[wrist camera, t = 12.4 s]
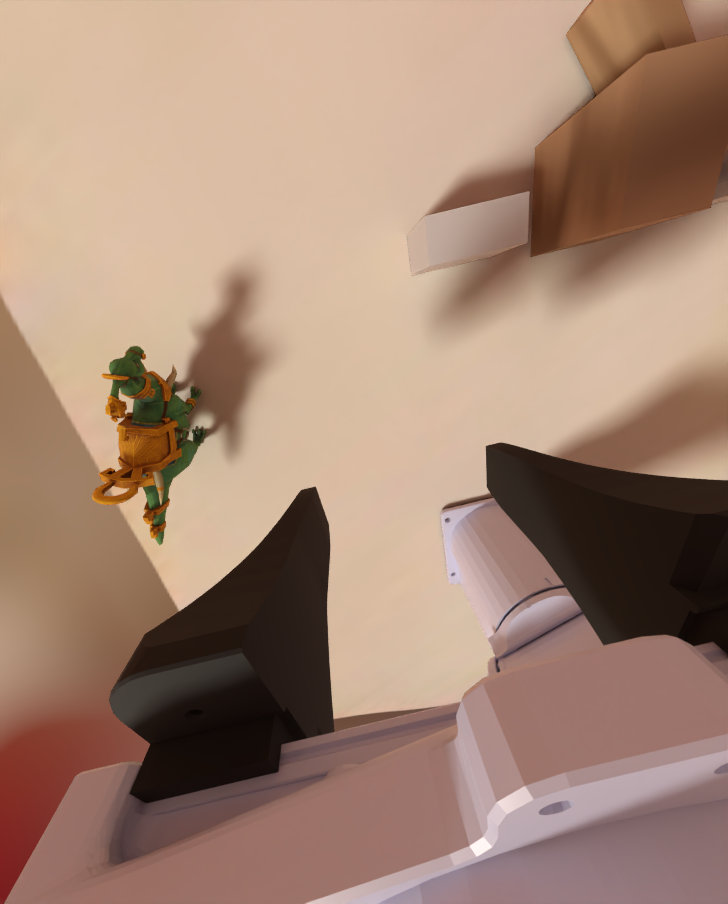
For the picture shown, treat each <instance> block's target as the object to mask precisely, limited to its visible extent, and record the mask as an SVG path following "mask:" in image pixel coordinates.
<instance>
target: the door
mask: <svg viewBox="0 0 728 904" xmlns="http://www.w3.org/2000/svg"><path fill="white" fill-rule="evenodd" d="M566 36H567V38H568V40H569V42H570V44H571V46H572V48H573V50H574V52H575V54H576V56H577V58H578V60H579V62H580V64H581V66H582V68H583V70H584V72H585V74H586V76H587V78H588V80H589V82H590V84H591V86H592V88H593V90H594V92H595V94H596V96H597V95H599V94H600V93H601V92H602V91H603V90H604V89H606V88H607V87H608V86H609V85H610V84H612V83H613V82H614V81H615V80H616V79H618V78H619V77H620V76H621V75H622V74H623V73H625V72H626V71H627V70H628V69H629V68H631V67H632V66H633V65H634V64H635V63H637V62H638V61H639V60H640V59H641V58H642V57H644V56H645V55H646V54H649V53H654V52H658V51H662V50H666V49H670V48H674V47H679V46H683V45H687V44H691V43H695V42H696V40H695V38H694V35H693V32H692V29H691V26H690V23H689V21H688V18H687V15H686V12H685V9H684V6H683V4H682V1H681V0H592V1H591V2H590V3H589V4H588V6H587V7H586V8H585V9H584V11H583V12H582V13H581V15H580V16H579V17H578V19H577V20H576V22H575V23H574V24H573V26H572V27H571V28H570V30H569V31H568V32H567V34H566ZM727 150H728V144H727V148H726V151H727Z"/></svg>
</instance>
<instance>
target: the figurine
mask: <svg viewBox="0 0 728 904" xmlns="http://www.w3.org/2000/svg"><path fill="white" fill-rule="evenodd" d="M125 354H126V355H125V356H124V358H120V359H115V360H113V361H112V362H111V363H110V365H109V370H110V372H111V374H102V376H103V377H104V378H106V379H113V385H112V390H111V394H110V396H109V397H108V399H109V400H108V404H107V405H106V414H108V415H110V416H112V418H111V419H112V420H113V421H114V422H117V421H118V419H117V418H124V417H125V418H124V420H123V421H122V422H120V423H119V424H118V427H117V432H119V450H120V456H119V458H118V461H119V464H120V466H121V467H122V469H120V470H118V471H117V472H115V470H114V469H112V468H109V469H107V470H105V471H103V472H101V473H99V475H100V478H101V480H102V481H104V482H106V484H104V485H102V486H100V487H98V488H96V489H95V491H94V493H93V497H92V498H93V500H94V501H96V502H97V503H101V504H105V505H113V504H119V503H122V502H125V501H127V500H128V501H129V500H130V498H132V497H133V496H134V495H135V494H137V493H138V487H143V489H144V491H145V493H146V497H147V503H146V505H145V508H144V511H145V514H144V516H143V519H144V521H145V522H146V524H151V525H150V535H151V538H155V539H156V541H157V542H158V544H159V545H161V544H162V542H163V538H164V529H165V527H166V521H165V514H166V509H167V507H168V506H169V502H170V499H169V498H168V493H169V487H170V485H171V482H172V480H173V478H174V477H176V476H177V475H178V474H179V473H181V472H182V471H183V470H184V469H185V468H187V467H188V466H189V465H190V463H191V461H192V459H193V457H194V455H195V453H196V452H197V449H198V446H200V443H201V441H202V439H203V438H204V436H205V433H206V431H205V430H203V432H202V435H201V430H200V429H199V430H198V431H197V433H196V430H194V429H193V430H192V433H193V441H190V440H187V438H188V436H189V431H188V429H189V426H190V424H189V422H188V419H187V417H186V415H185V413H186V414H187V415H188V414H189V412H190V411H191V410H192V409H193V408H194V406H195V405H196V399H197V398H198V397H199V395H200V394H201V390H198V392H197V394H196V393H195V388H194V387H193V386H191V390H190V391H191V398H188V399H187V401H186V402H184V401H183V400H182V399H180V398H179V397H178V396H177V395H175V389H176V386H175V384H174V381H175V378H176V375H177V373H176V369H175V367H174V366H173V368H172V373H171V374H170V375H169V377H168V378H167V380H166V381H165V380H164V379H162V378H161V377H160V376H159V375H158V374H156V373H155V372H153V371H150V372H147V370H146V368H145V367H144V365H143V363H142V362H141V358H142V359H143V360H144V359H146V355H145V354H144V351H143V350H142V349H141V348H140V347H138V346H133V347H130V348H129V349H128V350H127V351H126V352H125ZM119 388H120V389H121V393H122V394H123V395H125V396H127V397H129V398H132V399H135V400H134V405H133V413H128V412H127V414H126V415H125V410H127V406H126V402H123V401H121V400H119V397H118V394H119ZM112 486H115V487H119V488H123V489H124V488H127V492H126V493H124V494H121V495H117V496H104V493H105V492H106V491H107V490H109V489H110V488H111V487H112ZM127 503H128V502H127Z"/></svg>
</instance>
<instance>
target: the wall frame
mask: <svg viewBox="0 0 728 904" xmlns="http://www.w3.org/2000/svg"><path fill="white" fill-rule="evenodd" d="M529 194H530V191H527V192H523V193H519V194H515V195H511V196H506V197H502V198H498V199H494V200H490V201H486V202H481V203H477V204H473V205H469V206H465V207H460V208H456V209H452V210H448V211H444V212H440V213H435V214H431V215H427V216H424V218H423V219H422V220H421V221H420V222H419V223H418V224H417V225H416V226H415V227H414V229H413V230H412V231H411V232H410V233H409V234H408V235H407V241H408V249H409V258H410V266H411V275H412V276H413V275H417V274H421V273H425V272H429V271H434V270H438V269H442V268H446V267H450V266H454V265H459V264H463V263H467V262H471V261H475V260H480V259H484V258H488V257H492V256H495V255H497V254H500V253H502V252H505V251H507V250H510V249H513V248H515V247H518V246H520V245H523V244H525V243H528V220H529ZM726 200H728V150H727V151H726V152H725V156H724V159H723V163H722V167H721V171H720V175H719V178H718V182H717V186H716V190H715V194H714V197H713V201H712V204H714V203H718V202H722V201H726Z"/></svg>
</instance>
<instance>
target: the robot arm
mask: <svg viewBox="0 0 728 904" xmlns="http://www.w3.org/2000/svg"><path fill="white" fill-rule="evenodd" d="M486 469H487V488H488V490H489V491H490V493H491V494H492V496H493V497H494V498H490V499H486V500H481V501H477V502H473V503H469V504H465V505H461V506H456V507H452V508H448V509H444V510H443V511H442V512H441V514H440V515H441V524H442V533H443V541H444V550H445V558H446V567H447V576H448V581H449V583H450V584H458V583H460V584H461V586H462V588H463V591H464V593H465V595H466V597H467V599H468V601H469V603H470V605H471V607H472V609H473V611H474V613H475V615H476V617H477V620H478V622H479V624H480V626H481V628H482V630H483V632H484V634H485V636H486V638H487V639H488V642H489V644H490V646H491V648H492V650H493V652H494V654H495V657H493V658H491V659H490V660H489V661H488V677H485V678H483V679H481V680H480V681H479V682H478V683H476V684H475V685H474V686H473V687H471V688H470V689H469V690H468V691H466V692H465V693H464V696H463V698H462V701H461V702H458V703H454V704H450V705H445V706H441V707H437V708H433V709H429V710H425V711H420V712H416V713H412V714H408V715H403V716H400V717H395V718H391V719H387V720H383V721H378V722H374V723H370V724H366V725H362V726H358V727H354V728H349V729H345V730H341V731H336V732H334V721H333V708H332V695H331V680H330V665H329V646H328V624H327V593H328V577H329V561H330V533H329V524H328V521H327V518H326V515H325V512H324V509H323V506H322V504H321V501H320V498H319V495H318V492H317V489H316V487H312V488H308V489H304V490H301V491H300V492H299V494H298V495H297V496H296V498H295V499H294V501H293V502H292V504H291V505H290V506H289V508H288V509H287V510H286V512H285V513H284V515H283V516H282V517H281V519H280V520H279V521H278V522H277V524H276V525H275V526H274V527H273V529H272V530H271V531H270V532H269V533H268V535H267V536H266V537H265V538H264V539H263V541H262V542H261V543H260V544H259V545H258V546H257V547H256V548H255V549H254V550H253V551H252V552H251V553H250V554H249V555H248V556H247V557H246V558H245V559H244V560H243V561H242V562H241V563H240V564H239V565H238V566H237V567H235V568H234V569H233V570H232V571H231V572H230V573H229V574H227V575H226V576H225V577H224V578H223V579H222V580H221V581H219V582H218V583H217V584H216V585H214V586H213V587H212V588H211V589H209V590H208V591H207V592H206V593H204V594H203V595H202V596H200V597H199V598H198V599H196V600H195V601H194V602H192V603H191V604H189V605H188V606H187V607H185V608H184V609H182V610H181V611H179V612H178V613H176V614H175V615H173V616H172V617H170V618H169V619H167V620H166V621H165V622H163V623H161V624H160V625H158V626H157V627H155V628H154V629H152V630H151V631H149V632H148V633H146V634H145V635H144V637H143V638H142V640H141V642H140V643H139V645H138V647H137V648H136V650H135V652H134V653H133V655H132V657H131V659H130V660H129V662H128V664H127V665H126V667H125V669H124V670H123V672H122V674H121V675H120V677H119V679H118V680H117V682H116V684H115V686H114V687H113V689H112V691H111V694H110V698H109V702H110V705H111V708H112V711H113V713H114V714H115V715H116V716H117V718H119V720H120V721H122V722H123V723H124V724H125V725H127V726H128V727H129V728H131V729H132V730H133V731H135V732H136V733H137V734H138V735H140V736H141V737H142V738H143V739H145V740H146V741H148V742H149V743H150V747H149V749H148V752H147V754H146V756H145V758H144V761H143V763H140V762H132V761H131V762H123V763H118V764H114V765H110V766H105V767H101V768H98V769H93V770H89V771H85V772H81V773H80V774H78V775H77V776H76V777H75V778H74V780H73V782H72V784H71V785H70V787H69V789H68V791H67V793H66V794H65V796H64V798H63V800H62V801H61V803H60V805H59V807H58V809H57V810H56V812H55V814H54V816H53V817H52V819H51V821H50V823H49V825H48V826H47V828H46V830H45V832H44V834H43V835H42V837H41V839H40V841H39V842H38V844H37V846H36V848H35V850H34V851H33V853H32V855H31V857H30V859H29V860H28V862H27V864H26V866H25V867H24V869H23V871H22V873H21V875H20V877H19V878H18V880H17V882H16V883H15V885H14V887H13V889H12V891H11V892H10V894H9V896H8V898H7V900H6V902H5V903H4V904H728V480H707V479H691V478H677V477H666V476H657V475H648V474H639V473H632V472H625V471H618V470H613V469H607V468H601V467H596V466H591V465H586V464H582V463H577V462H573V461H569V460H565V459H561V458H557V457H553V456H550V455H546V454H542V453H539V452H535V451H532V450H528V449H525V448H522V447H518V446H514V445H510V444H506V443H496V444H492V445H488V446H486ZM447 518H448V519H447ZM445 519H447V520H445Z"/></svg>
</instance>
